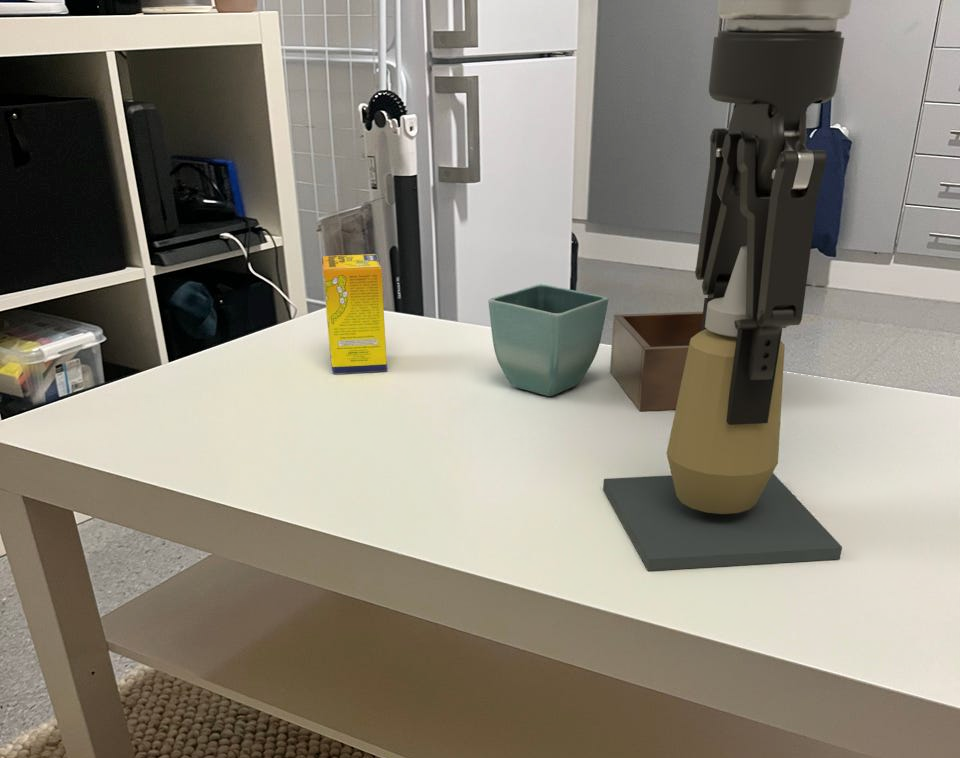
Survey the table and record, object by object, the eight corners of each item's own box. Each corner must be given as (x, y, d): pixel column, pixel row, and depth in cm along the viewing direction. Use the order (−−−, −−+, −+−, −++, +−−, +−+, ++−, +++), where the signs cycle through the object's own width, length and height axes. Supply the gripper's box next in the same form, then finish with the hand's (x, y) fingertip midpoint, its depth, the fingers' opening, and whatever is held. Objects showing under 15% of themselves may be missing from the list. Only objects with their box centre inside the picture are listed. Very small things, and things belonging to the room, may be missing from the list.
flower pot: (605, 385, 104) (611, 295, 100) (555, 407, 99) (559, 314, 94) (537, 368, 109) (539, 282, 104) (485, 389, 103) (485, 299, 99)
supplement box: (329, 358, 112) (320, 255, 107) (383, 355, 113) (377, 253, 107) (331, 375, 108) (322, 267, 102) (387, 372, 108) (382, 265, 102)
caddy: (723, 366, 110) (730, 310, 106) (765, 405, 99) (774, 344, 96) (609, 371, 108) (613, 314, 105) (639, 411, 98) (645, 349, 95)
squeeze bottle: (648, 511, 74) (672, 254, 65) (677, 471, 81) (704, 232, 71) (758, 531, 71) (801, 266, 62) (780, 489, 78) (823, 241, 68)
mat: (768, 481, 84) (770, 469, 83) (840, 559, 72) (842, 546, 71) (602, 489, 82) (603, 478, 82) (647, 571, 70) (649, 558, 70)
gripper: (671, 23, 67) (642, 365, 80) (779, 30, 51) (722, 458, 64) (780, 22, 68) (734, 361, 81) (920, 29, 52) (836, 453, 64)
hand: (729, 404), depth 72 cm, fingers closed on squeeze bottle, 6 cm apart
